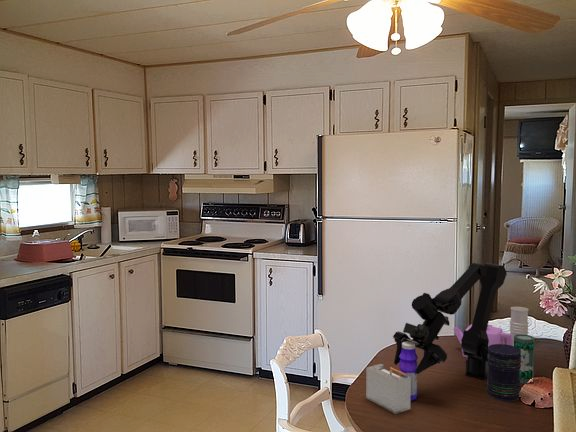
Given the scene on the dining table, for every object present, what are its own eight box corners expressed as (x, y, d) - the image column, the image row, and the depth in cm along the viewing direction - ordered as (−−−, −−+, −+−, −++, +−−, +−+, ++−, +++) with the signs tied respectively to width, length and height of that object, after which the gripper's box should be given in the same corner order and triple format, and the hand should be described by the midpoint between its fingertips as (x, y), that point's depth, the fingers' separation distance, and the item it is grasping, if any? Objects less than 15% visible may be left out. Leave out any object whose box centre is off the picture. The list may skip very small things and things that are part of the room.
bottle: (417, 402, 166) (418, 347, 165) (398, 401, 167) (399, 346, 166) (417, 393, 173) (417, 340, 172) (399, 391, 175) (399, 339, 173)
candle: (527, 343, 221) (528, 307, 219) (528, 348, 214) (529, 311, 213) (509, 341, 223) (510, 305, 222) (509, 346, 217) (510, 309, 215)
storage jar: (526, 400, 167) (528, 353, 166) (497, 402, 166) (498, 355, 164) (508, 387, 177) (509, 343, 176) (480, 389, 176) (481, 344, 174)
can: (510, 380, 182) (512, 337, 181) (516, 375, 187) (517, 333, 186) (529, 385, 179) (531, 341, 177) (535, 379, 183) (536, 336, 182)
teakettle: (516, 361, 201) (517, 328, 200) (475, 365, 197) (476, 332, 196) (489, 346, 217) (490, 316, 216) (451, 350, 214) (451, 319, 212)
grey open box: (380, 394, 173) (380, 362, 172) (410, 409, 162) (410, 376, 161) (366, 398, 170) (366, 366, 169) (395, 414, 159) (395, 380, 158)
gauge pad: (384, 393, 171) (384, 362, 170) (409, 405, 162) (409, 373, 161) (380, 394, 170) (380, 363, 169) (404, 407, 161) (405, 374, 160)
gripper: (397, 307, 178) (371, 346, 173) (441, 320, 162) (414, 363, 157) (414, 326, 183) (389, 364, 178) (458, 341, 167) (432, 383, 162)
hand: (405, 368), depth 169 cm, fingers open, 9 cm apart
